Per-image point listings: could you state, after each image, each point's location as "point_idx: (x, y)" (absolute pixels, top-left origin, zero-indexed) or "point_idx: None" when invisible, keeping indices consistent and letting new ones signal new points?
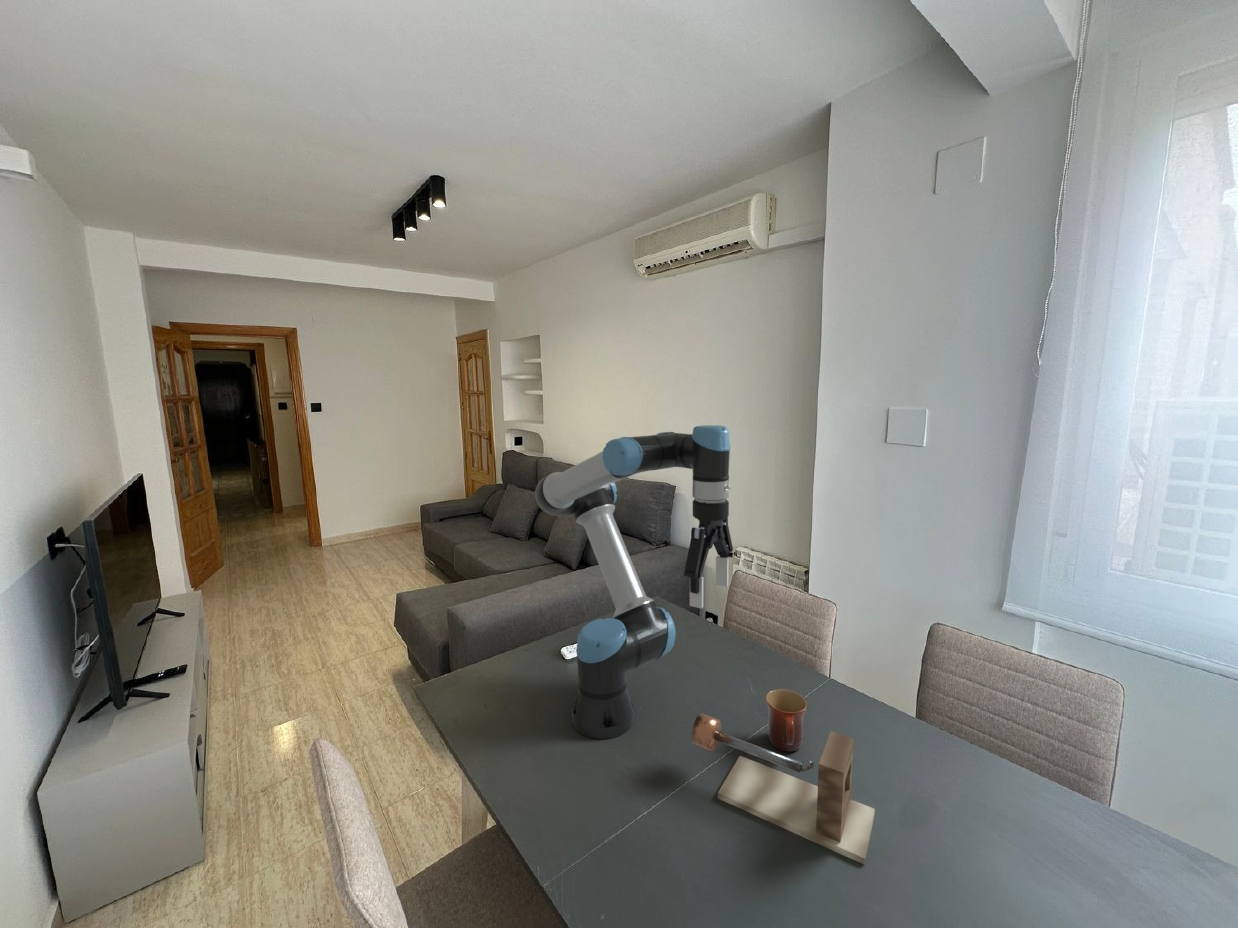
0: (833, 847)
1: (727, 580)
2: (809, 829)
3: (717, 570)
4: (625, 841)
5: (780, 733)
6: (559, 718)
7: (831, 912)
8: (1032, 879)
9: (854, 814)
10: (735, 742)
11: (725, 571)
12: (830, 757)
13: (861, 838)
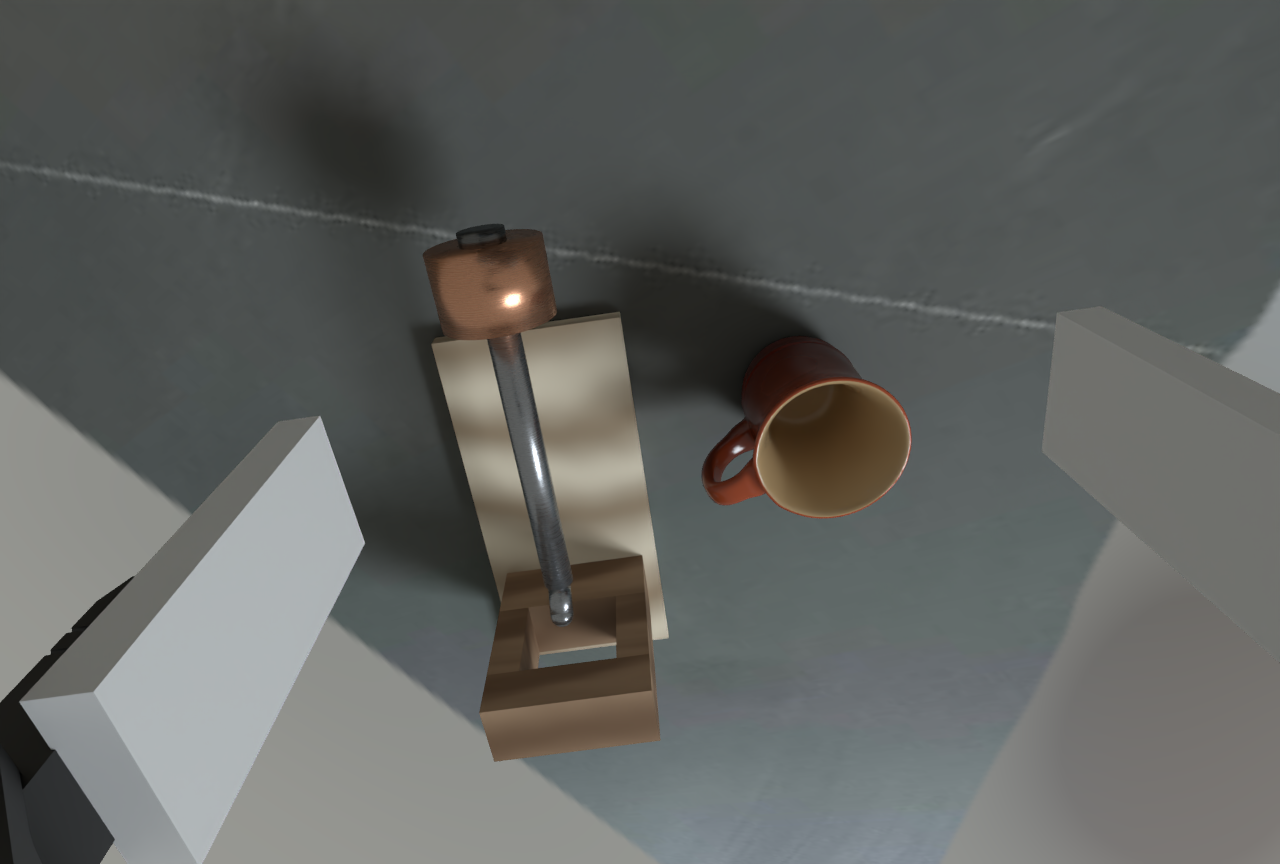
0: None
1: (1097, 486)
2: (502, 561)
3: (1189, 414)
4: (99, 220)
5: (748, 417)
6: None
7: (368, 636)
8: (693, 821)
9: None
10: (504, 403)
11: (1169, 539)
12: (530, 723)
13: None
